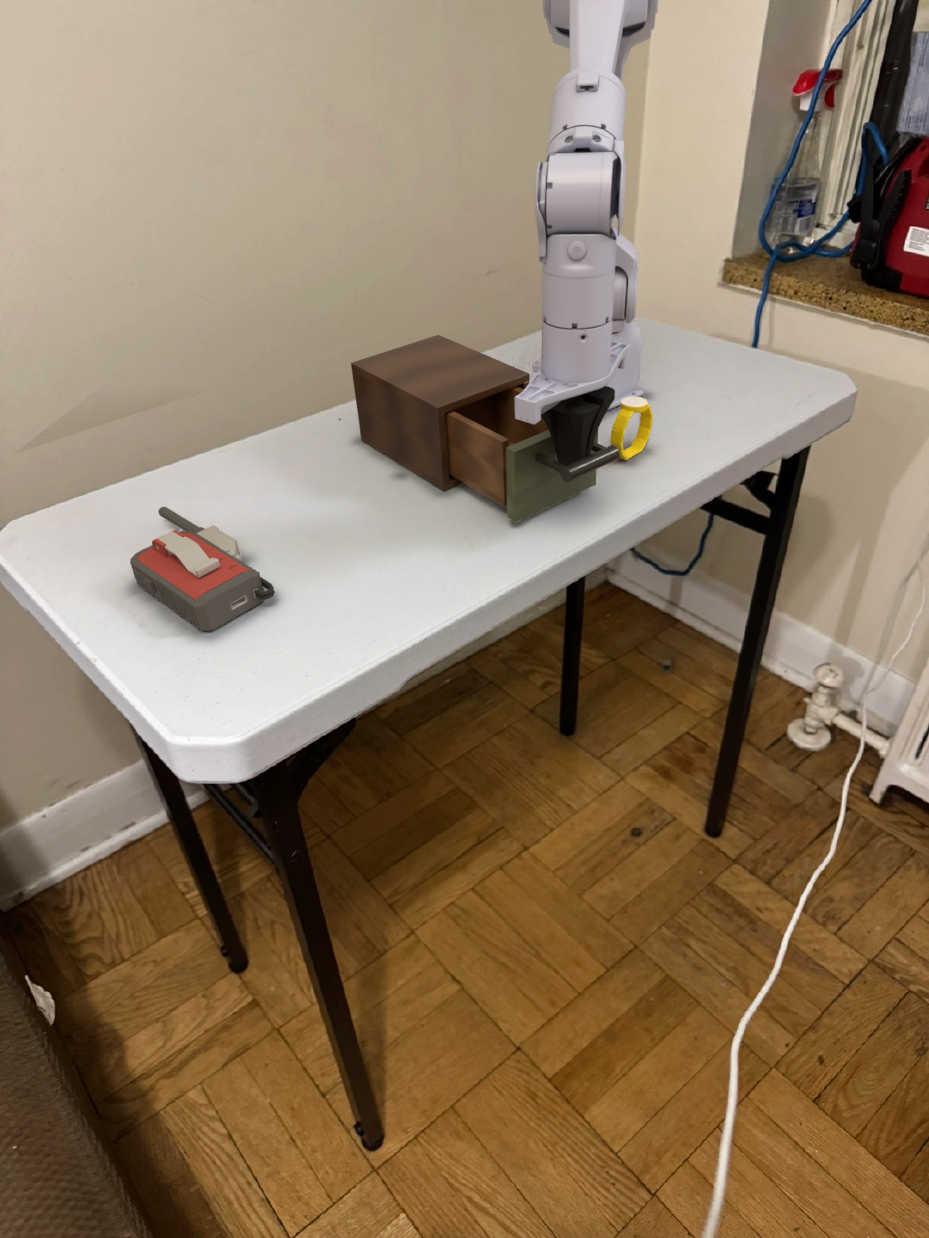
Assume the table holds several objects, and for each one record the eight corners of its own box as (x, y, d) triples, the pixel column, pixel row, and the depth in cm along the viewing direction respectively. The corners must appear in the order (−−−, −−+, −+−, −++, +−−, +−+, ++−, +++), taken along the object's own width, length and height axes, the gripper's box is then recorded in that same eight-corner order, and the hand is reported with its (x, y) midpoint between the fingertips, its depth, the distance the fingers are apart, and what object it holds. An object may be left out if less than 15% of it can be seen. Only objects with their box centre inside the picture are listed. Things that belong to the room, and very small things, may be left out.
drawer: (632, 503, 82) (638, 433, 78) (551, 544, 77) (552, 471, 73) (501, 436, 95) (500, 372, 90) (424, 468, 90) (418, 402, 85)
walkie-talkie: (298, 593, 75) (174, 517, 86) (289, 551, 72) (162, 478, 83) (212, 643, 70) (93, 555, 81) (199, 600, 67) (77, 515, 79)
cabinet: (530, 454, 93) (529, 373, 87) (443, 492, 87) (437, 408, 82) (443, 410, 103) (438, 334, 97) (361, 440, 97) (350, 362, 92)
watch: (625, 469, 89) (629, 415, 86) (602, 462, 91) (605, 408, 87) (656, 447, 93) (661, 395, 89) (634, 440, 94) (638, 388, 90)
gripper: (585, 285, 77) (580, 426, 85) (482, 335, 68) (488, 487, 77) (655, 298, 73) (643, 445, 81) (556, 353, 64) (554, 510, 73)
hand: (572, 467), depth 79 cm, fingers closed
